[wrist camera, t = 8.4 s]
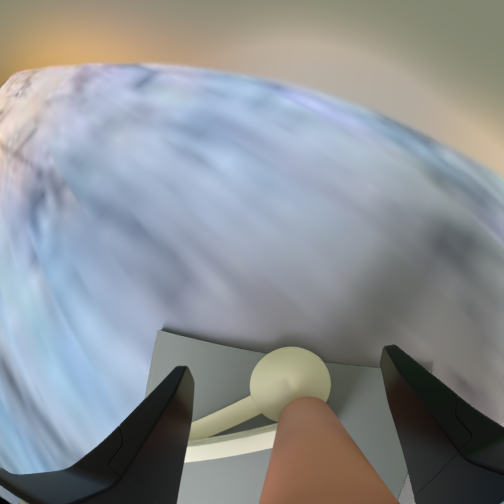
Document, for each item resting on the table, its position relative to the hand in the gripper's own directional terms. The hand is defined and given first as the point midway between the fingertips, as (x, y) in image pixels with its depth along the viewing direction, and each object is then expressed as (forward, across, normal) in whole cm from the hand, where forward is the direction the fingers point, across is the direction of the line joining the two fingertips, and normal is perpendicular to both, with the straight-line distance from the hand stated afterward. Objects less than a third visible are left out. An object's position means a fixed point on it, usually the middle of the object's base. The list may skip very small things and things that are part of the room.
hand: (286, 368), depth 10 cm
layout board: (-1, +2, +11) cm, 11 cm away
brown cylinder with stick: (+1, +4, +7) cm, 8 cm away
